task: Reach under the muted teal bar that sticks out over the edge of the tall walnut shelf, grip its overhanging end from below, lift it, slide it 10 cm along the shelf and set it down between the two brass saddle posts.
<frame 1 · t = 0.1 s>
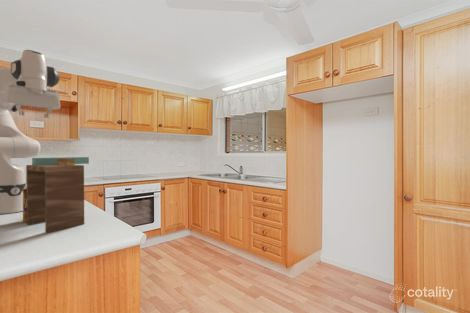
hand: (34, 116, 114), 48 cm above the countertop, tool pointing down, fingers open, 8 cm apart
candy box: (35, 220, 115), on the countertop
walnut shelf: (55, 224, 109), on the countertop
teal bar: (62, 164, 115), point 26 cm above the countertop, touching walnut shelf
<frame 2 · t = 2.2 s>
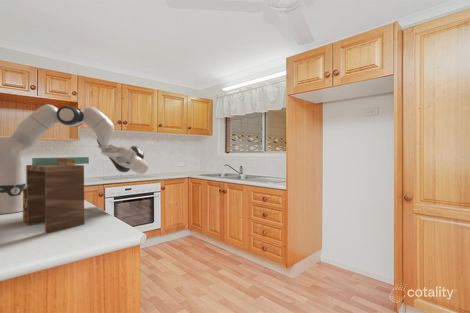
hand: (104, 145, 131), 35 cm above the countertop, tool pointing upward, fingers open, 8 cm apart
nothing on the countertop moved.
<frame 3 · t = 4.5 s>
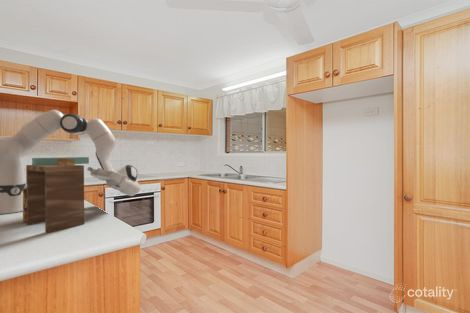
hand: (93, 168, 127), 23 cm above the countertop, tool pointing upward, fingers open, 8 cm apart
nothing on the countertop moved.
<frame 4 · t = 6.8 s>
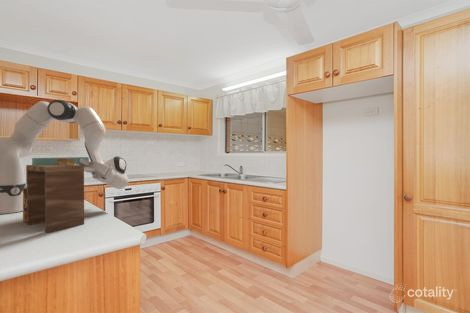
hand: (76, 159, 120), 28 cm above the countertop, tool pointing upward, fingers closed on teal bar, 3 cm apart
teal bar: (62, 164, 115), point 26 cm above the countertop, touching gripper, walnut shelf
everything else where it was.
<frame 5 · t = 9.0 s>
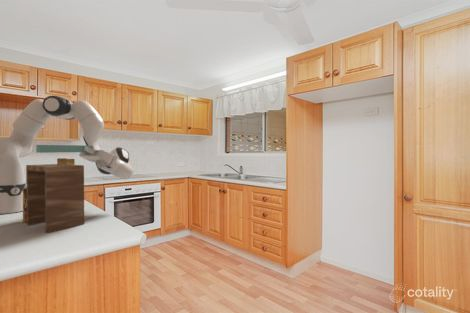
hand: (81, 147, 118), 34 cm above the countertop, tool pointing upward, fingers closed on teal bar, 3 cm apart
teal bar: (66, 152, 113), point 32 cm above the countertop, touching gripper
everything else where it was.
when the fingers open (29 cm above the countertop, at t = 11.3 s): teal bar stays where it is, resting on walnut shelf.
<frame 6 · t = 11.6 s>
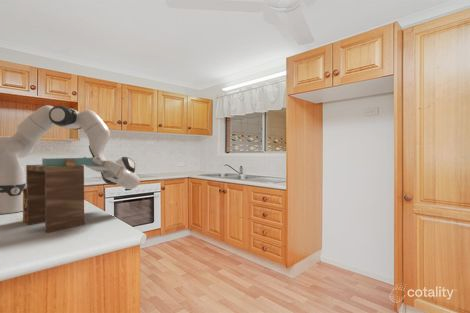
hand: (87, 158, 115), 29 cm above the countertop, tool pointing upward, fingers open, 6 cm apart
teal bar: (73, 165, 110), point 26 cm above the countertop, touching walnut shelf
everything else where it was.
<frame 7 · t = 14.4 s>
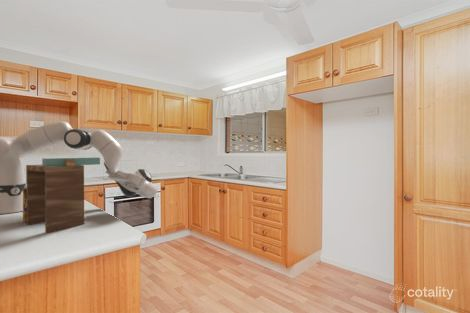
hand: (112, 171, 125), 22 cm above the countertop, tool pointing upward, fingers open, 8 cm apart
nothing on the countertop moved.
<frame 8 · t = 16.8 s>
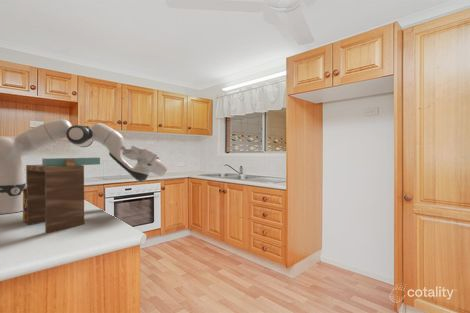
hand: (126, 147, 132), 34 cm above the countertop, tool pointing upward, fingers open, 8 cm apart
nothing on the countertop moved.
at the end: teal bar 0.0 cm from the target spot, point 26.0 cm above the countertop; teal bar tilted 0°; the gripper is holding nothing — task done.
